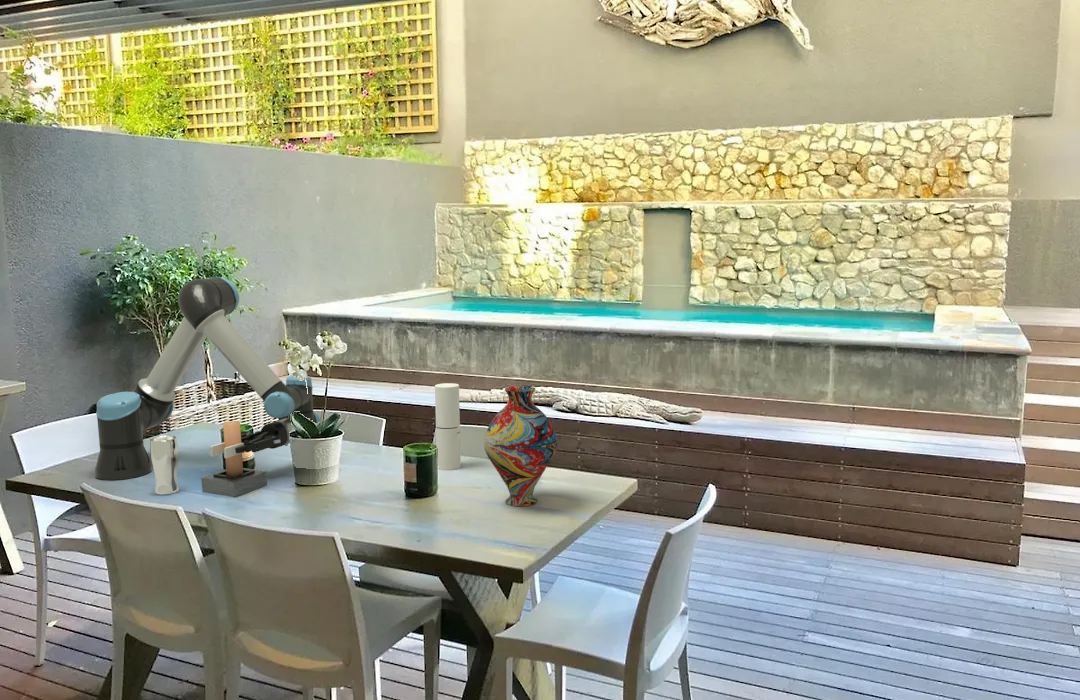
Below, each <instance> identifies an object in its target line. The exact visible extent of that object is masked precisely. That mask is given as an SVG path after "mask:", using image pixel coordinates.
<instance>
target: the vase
mask: <svg viewBox="0 0 1080 700" xmlns="http://www.w3.org/2000/svg"><path fill="white" fill-rule="evenodd" d="M504 391H505V393H506V394H507V396H508V398H507V399H508V401H507V403H506V404H505V405H504V406H503V408H501V409H500V410H499V411H498V412H497V413H496V414H495V416H493V418H492V420H491V421H490V424H488V427H487V430H486V432H485V434H484V435H485V436H484V441H483V442H484V445H483V446H484V447H483V449H484V451H485V454H486V455H487V458H488V459H489V460H490V462H491V464H492V465H493V468H494V469H495V470H496V471H497V473H498V474H499V475H498V476H500V478H501V480H502V481H503V482H504V485H505V486H506V487H507V490H508V493H509V496H508V497H507V498H506V500H505V501H504V502H505V504H507V505H510V506H513V507H529V506H532V505H535V504H537V503H538V499H537V498H535V497H534V496H533V495H534V494H533V493H534V491H535V488H536V486H537V484H538V482H539V480H540V479H541V477H542V475H543V474H544V472H545V470H546V469H547V468H548V466H549V464H550V463H551V461H552V459H553V458H554V456H555V453H556V452H557V448H558V442H557V441H558V440H557V435H556V431H555V429H554V426H553V425H552V422H551V421H550V420H549V419H550V418H548V417H547V415H546V414H545V413H544V412H543V411H542V410H541V409H539V408H538V407H537V406H536V405H535V404H534V402H533V394H534V392H535V391H536V387H534V386H529V385H516V386H507V387H505V388H504Z"/></svg>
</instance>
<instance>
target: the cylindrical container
mask: <svg viewBox="0 0 1080 700" xmlns="http://www.w3.org/2000/svg"><path fill="white" fill-rule="evenodd" d="M434 394H435V395H434V397H435V398H434V399H435V401H434V403H435V404H434V405H435V435H436V437H435V440H436V441H435V443H436V445H435V446H437V447H438V466H439V469H438V470H440V469H441V471H453V470H458V469H460V468H461V465H462V464H461V463H462V462H461V459H462V458H461V422H460V420H461V419H460V417H461V415H460V413H461V412H460V384H458V383H452V382H451V383H450V382H448V383H447V382H446V383H443V382H442V383H438V384H435V385H434Z"/></svg>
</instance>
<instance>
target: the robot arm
mask: <svg viewBox="0 0 1080 700" xmlns="http://www.w3.org/2000/svg"><path fill="white" fill-rule="evenodd" d="M177 297H178V298H177V303H178V307H179V309H180V312H181V314H182V315H183V318H182V319H181V322H180V323H179V325H178V326H177V328H176V330H175V331H174V333H173V335H172V337H171V338H170V339H169V341H168V343H167V345H166V346H165V347H164V349H163V351H162V353H161V354H160V356H159V358H158V360H157V361H156V363H155V365H154V366H153V367H152V369H151V371H150V373H149V375H148V376H147V377H146V378H140V380H139V381H138V383H137V384H136V386H135V388H134V389H133V391H121V392H119V391H118V392H115V393H110V394H107V395H104V396H102V397H101V398H100V399H98V400H97V402H96V411H95V412H96V413H95V414H96V417H97V431H98V432H97V433H98V441H99V442H98V444H99V453H98V457H97V460H96V465H95V467H94V475H95V476H94V477H95V478H96V479H99V480H104V481H105V480H108V481H112V480H113V481H117V480H126V479H127V480H128V479H132V478H133V479H134V478H137V477H141V476H144V475H147V474H149V473H151V472H152V470H153V466H152V462H151V458H150V455H149V454H148V452H147V450H146V447H145V444H144V436H143V435H144V433H143V432H144V431H146V430H149V429H151V428H154V427H157V426H158V427H159V426H160V425H161V424H163V423H164V422H166V421H167V420H168V419H169V418H170V417H171V416H172V413H173V411H174V407H175V406H174V405H175V404H174V401H175V400H176V397H177V396H176V393H175V390H176V388H177V386H178V385H179V384H180V381H181V380H182V378H183V377H184V376H185V373H186V372H187V370H188V368H189V366H190V365H191V364H192V363H193V360H194V359H195V357H196V355H197V354H198V353H199V350H200V349H201V347H202V346H203V344H204V343H205V340H206V339H208V340H209V341H210V342H211V343H212V345H213V346H214V347H215V348H216V349H217V351H219V352H220V354H221V355H222V356H223V357H224V358H225V359H226V360H227V362H228V363H230V365H231V366H232V367H233V368H234V369H235V371H236V372H238V374H239V375H240V376H241V377H242V378H243V380H244V381H246V383H247V384H248V385H249V386H250V387H251V388H252V390H253V391H255V393H256V394H257V395H258V396H259V397H260V398H261V400H262V401H263V402H264V403H263V407H264V411H265V413H266V414H267V415H268V416H269V417H270V418H273V419H279V420H276V421H273V422H269V423H266V424H264V425H263V426H262V428H261V430H258V431H255V432H252V433H249V432H248V431H247V432H243V433H241V443H239V444H236V445H233V446H229V447H226V448H225V446H224V439H223V442H221V443H216V444H213V445H210V446H209V452H210V453H209V454H210V455H209V456H210V457H215V456H218V455H221V454H223V457H224V459H225V458H229V457H232V456H235V455H238V454H241V453H242V454H244V453H249V452H252V453H257V452H261V451H264V450H267V449H271V450H274V449H277V448H280V447H283V446H285V447H288V446H289V444H291V443H290V440H289V436H290V434H289V432H290V431H291V430H292V426H291V421H290V414H291V413H292V414H293V412H294V411H300V412H297V413H301V414H303V415H304V416H305V417H307V418H311V419H312V420H313V422H315V423H318V422H319V421H320V420H321V418H320V416H319V414H318V413H316V412H315V411H314V404H313V400H314V399H313V384H312V383H313V382H312V378H311V376H309V375H306V376H307V387H308V394H307V388H306V382H305V380H303V381H299V380H298V379H297V378H295V377H294V376H295V375H291V376H287V377H286V379H285V382H286V383H284V382H283V381H282V380H281V378H280V377H279V376H278V375H277V374H276V372H275V371H273V370H272V368H271V367H270V366H269V365H268V364H267V363H266V361H265V360H264V359H263V358H262V357H261V356H260V354H259V353H258V352H257V351H256V350H255V349H254V348H253V347H252V345H251V344H250V343H249V342H248V340H246V339H245V337H244V336H243V335H242V334H241V333H240V332H239V330H237V329H236V328H235V326H233V324H232V323H231V322H230V321H229V320H228V319H227V317H226V316H227V315H230V314H231V313H233V312H234V311H235V310H236V309H237V308H238V306H239V303H240V294H239V291H238V288H237V287H236V285H235V284H234V283H233V282H232V281H231V280H229V279H228V278H225V277H221V276H220V277H219V276H211V277H206V278H195V279H192V280H190V281H188V282H186V283H185V284H184V285H182V287H181V288H180V290H179V292H178V296H177Z"/></svg>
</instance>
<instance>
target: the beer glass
mask: <svg viewBox="0 0 1080 700" xmlns="http://www.w3.org/2000/svg"><path fill="white" fill-rule="evenodd" d="M149 441H150V443H149V444H150V445H149V446H150V447H149V449H150V450H149V451H150V452H149V454H150V455H149V456H150V461H151V465H152V470H153V474H154V477H155V478H154V479H155V486H154V487H155V488H154V493H155V494H156V495H159V496H164V495H165V496H166V495H173V494H175V493H177V492H179V490H180V488H179V485H178V479H177V477H178V476H177V474H178V464H179V447H178V446H179V445H178V439H177V436H175V435H158V436H154V437H151V438H150V439H149Z"/></svg>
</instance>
